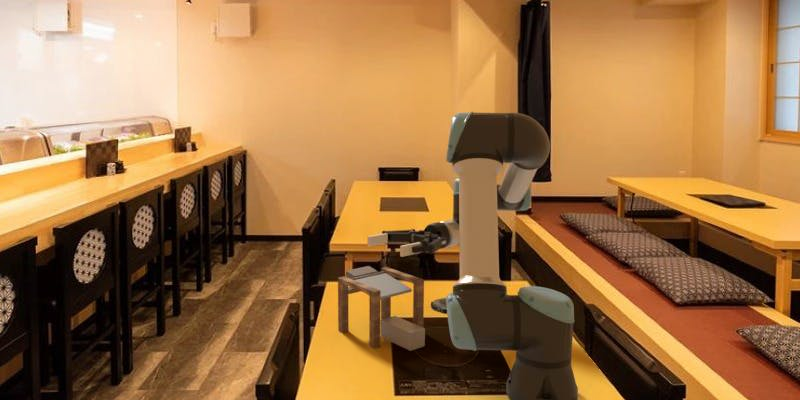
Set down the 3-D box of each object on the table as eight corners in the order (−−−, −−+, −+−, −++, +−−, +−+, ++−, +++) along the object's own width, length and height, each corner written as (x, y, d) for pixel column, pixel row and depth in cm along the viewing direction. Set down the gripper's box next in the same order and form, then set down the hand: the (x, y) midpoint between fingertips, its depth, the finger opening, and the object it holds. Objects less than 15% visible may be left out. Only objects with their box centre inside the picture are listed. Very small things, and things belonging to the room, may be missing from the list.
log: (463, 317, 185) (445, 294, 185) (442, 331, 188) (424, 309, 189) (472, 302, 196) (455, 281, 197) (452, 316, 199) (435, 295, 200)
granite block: (394, 333, 172) (424, 346, 163) (380, 337, 169) (410, 351, 160) (395, 315, 171) (425, 328, 162) (380, 319, 168) (410, 332, 159)
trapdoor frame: (423, 332, 172) (424, 279, 169) (374, 348, 161) (374, 292, 158) (386, 316, 184) (386, 267, 181) (338, 330, 173) (337, 277, 170)
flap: (411, 293, 170) (412, 287, 169) (376, 302, 162) (377, 296, 162) (373, 269, 182) (374, 264, 181) (339, 277, 174) (340, 271, 174)
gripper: (473, 256, 170) (415, 270, 156) (412, 239, 189) (355, 251, 175) (474, 229, 169) (416, 241, 155) (412, 215, 187) (355, 224, 174)
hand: (384, 246), depth 165 cm, fingers open, 13 cm apart
